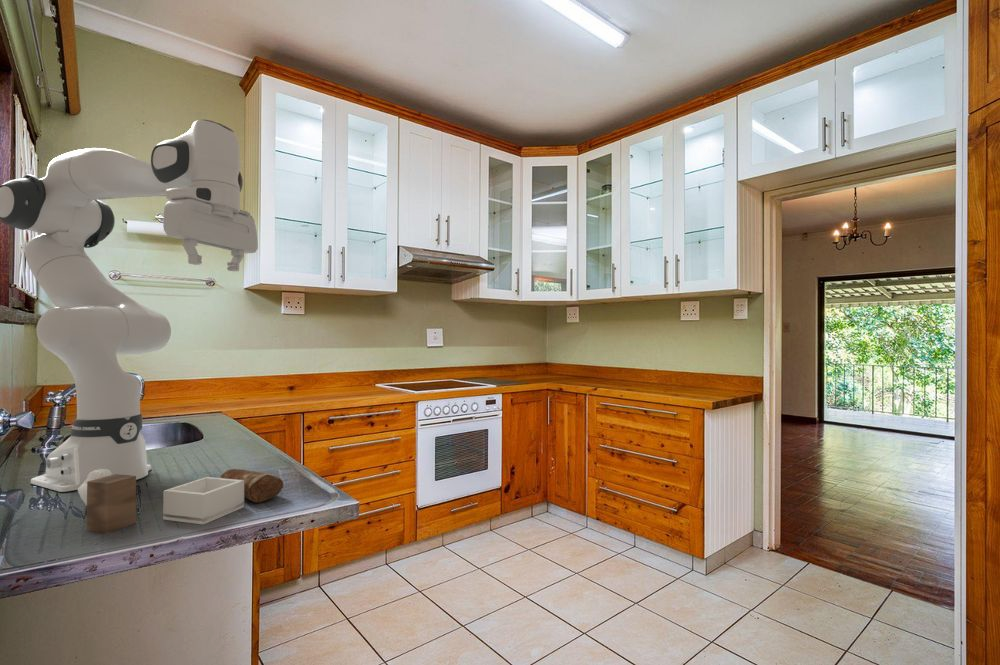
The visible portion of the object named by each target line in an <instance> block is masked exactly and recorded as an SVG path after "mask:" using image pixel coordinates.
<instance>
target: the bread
mask: <svg viewBox="0 0 1000 665" xmlns="http://www.w3.org/2000/svg"><path fill="white" fill-rule="evenodd" d="M219 478H225V479H236V480H244V498H245V499H248V500H250V501H251V502H253V503H256V504H257V503H258V504H260V503H262V502H266V501H269V500H271V499H273V498H275V497H277V495H279V493H280V492H282V490H283V487H284V482H283V480H282V479H281V478H280V477H278V476H275V475H274V474H270V473H266V472H260V471H255V470H247V469H237V468H229V469H227V470H226V471H224V472H223V473H222V474H221V476H220V477H219Z"/></svg>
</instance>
